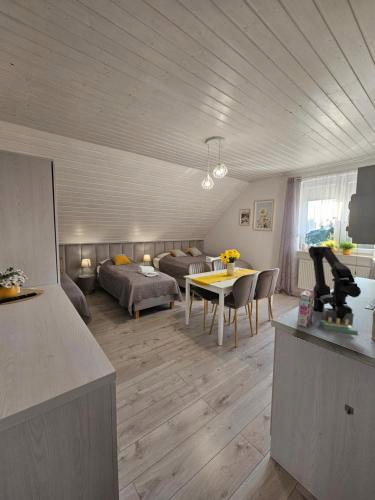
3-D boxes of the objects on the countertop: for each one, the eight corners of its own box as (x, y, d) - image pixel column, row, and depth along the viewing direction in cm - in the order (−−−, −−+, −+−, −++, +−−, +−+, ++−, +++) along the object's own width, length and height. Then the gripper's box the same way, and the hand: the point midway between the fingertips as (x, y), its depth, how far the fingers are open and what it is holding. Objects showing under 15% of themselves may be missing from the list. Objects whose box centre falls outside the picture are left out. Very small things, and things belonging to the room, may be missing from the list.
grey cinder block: (322, 318, 123) (323, 307, 122) (348, 321, 119) (349, 310, 118) (325, 321, 118) (326, 310, 117) (352, 325, 114) (353, 313, 114)
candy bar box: (307, 328, 110) (310, 296, 108) (297, 325, 113) (299, 294, 111) (312, 321, 119) (314, 291, 117) (302, 318, 122) (304, 289, 120)
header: (319, 322, 117) (320, 313, 116) (350, 326, 112) (351, 317, 112) (324, 329, 109) (324, 319, 108) (357, 334, 105) (358, 323, 104)
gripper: (317, 285, 128) (315, 311, 130) (327, 294, 110) (325, 324, 112) (340, 287, 125) (337, 313, 126) (354, 297, 107) (351, 328, 109)
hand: (337, 319), depth 118 cm, fingers closed on grey cinder block, 5 cm apart
